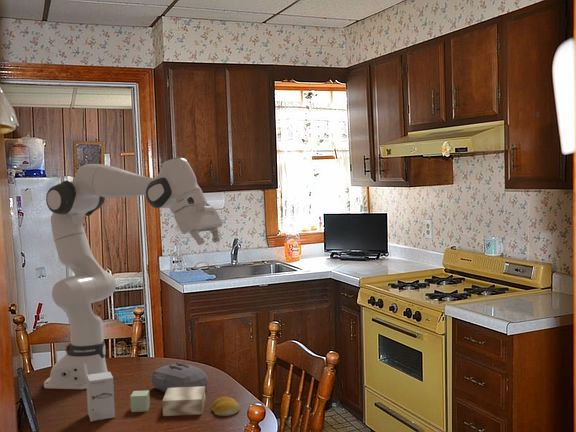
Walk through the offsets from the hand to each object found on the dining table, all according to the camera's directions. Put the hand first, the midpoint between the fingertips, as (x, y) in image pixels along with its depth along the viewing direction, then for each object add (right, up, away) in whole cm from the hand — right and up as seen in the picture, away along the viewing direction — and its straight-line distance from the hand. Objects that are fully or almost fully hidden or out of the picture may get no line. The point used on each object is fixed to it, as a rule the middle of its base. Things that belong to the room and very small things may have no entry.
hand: (209, 243), depth 199 cm
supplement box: (-33, -53, -5) cm, 63 cm away
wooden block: (-8, -52, 0) cm, 53 cm away
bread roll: (+5, -52, -3) cm, 53 cm away
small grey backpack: (-12, -51, +18) cm, 56 cm away
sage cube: (-22, -52, +1) cm, 57 cm away
